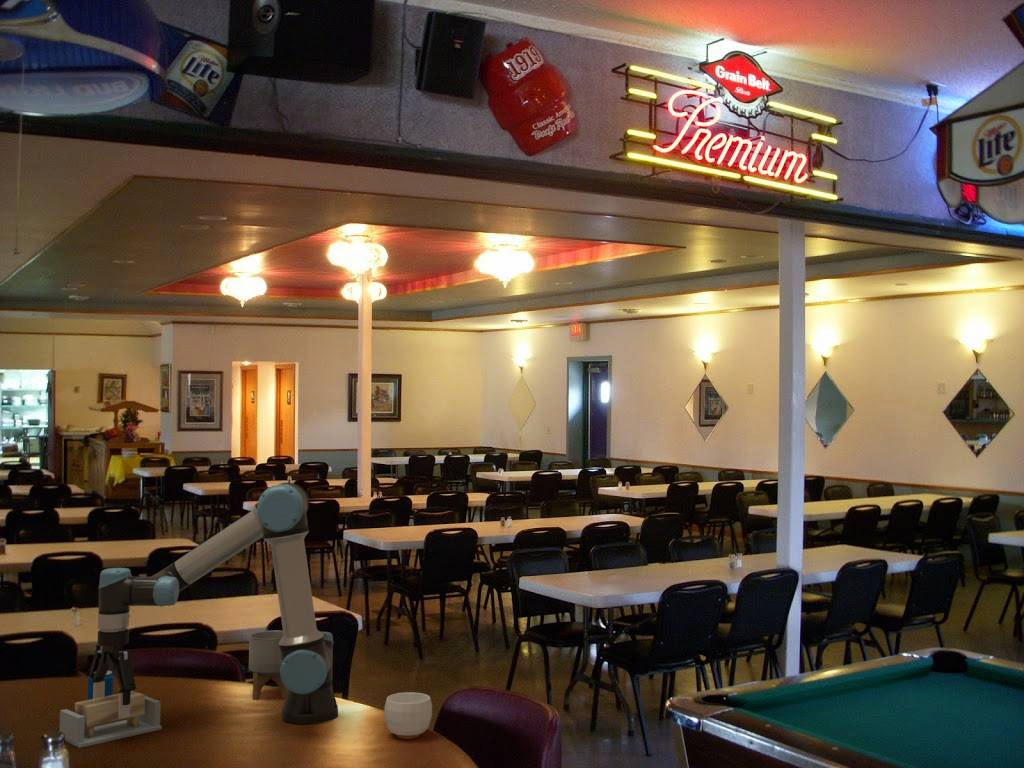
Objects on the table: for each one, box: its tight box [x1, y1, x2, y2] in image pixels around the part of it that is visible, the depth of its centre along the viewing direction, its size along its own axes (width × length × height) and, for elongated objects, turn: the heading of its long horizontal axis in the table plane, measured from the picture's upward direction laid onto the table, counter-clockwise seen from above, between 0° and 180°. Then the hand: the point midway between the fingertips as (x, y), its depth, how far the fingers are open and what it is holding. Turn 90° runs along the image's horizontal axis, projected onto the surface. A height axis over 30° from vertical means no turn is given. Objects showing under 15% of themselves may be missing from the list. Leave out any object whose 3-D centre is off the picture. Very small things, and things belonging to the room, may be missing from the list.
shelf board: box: [74, 690, 146, 727], centre depth 266 cm, size 6×16×5 cm, turn 142°
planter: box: [248, 629, 289, 701], centre depth 306 cm, size 13×13×18 cm
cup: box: [383, 691, 433, 740], centre depth 267 cm, size 12×12×10 cm
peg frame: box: [59, 695, 163, 748], centre depth 266 cm, size 12×22×7 cm, turn 138°
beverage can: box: [86, 670, 115, 701], centre depth 280 cm, size 6×6×12 cm
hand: (111, 712), depth 266 cm, fingers open, 13 cm apart
